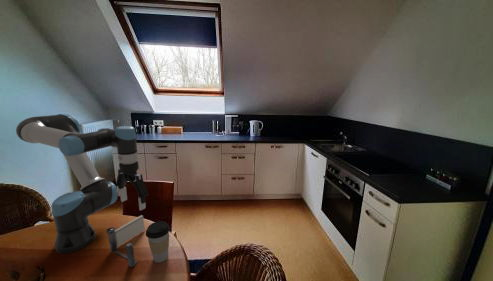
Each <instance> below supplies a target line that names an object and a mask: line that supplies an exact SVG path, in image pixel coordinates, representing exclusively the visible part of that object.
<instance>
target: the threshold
mask: <svg viewBox="0 0 493 281" xmlns="http://www.w3.org/2000/svg"><path fill="white" fill-rule="evenodd" d="M114 253H115V254H117V255H119V256H121V257H122V258H124V259H126V260H128V258H127V254H125V253H123V252H121V251H119V250H117V251H115V252H114ZM137 263H138V261H137V260H135V265H136V264H137Z"/></svg>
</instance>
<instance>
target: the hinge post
mask: <svg viewBox="0 0 493 281" xmlns="http://www.w3.org/2000/svg"><path fill="white" fill-rule="evenodd" d="M115 230H116V228H115V227H113V226H112V227H108V228H107V229H106V234H107V236H108V241H109V242H108V244H109V248H110V252H111V253H115V251H118V247H117V246H116V240H115V233H114V231H115Z"/></svg>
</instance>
